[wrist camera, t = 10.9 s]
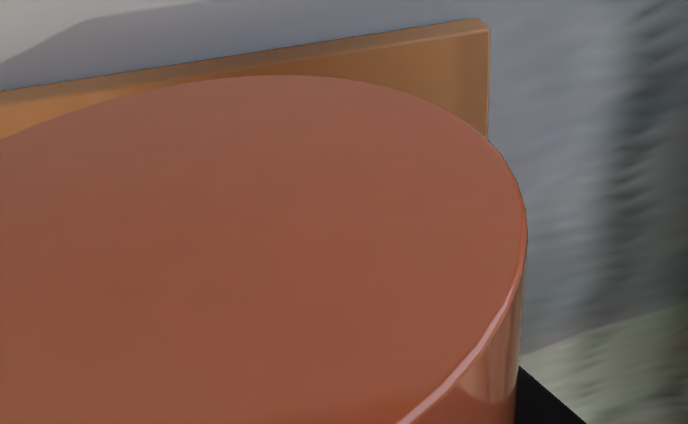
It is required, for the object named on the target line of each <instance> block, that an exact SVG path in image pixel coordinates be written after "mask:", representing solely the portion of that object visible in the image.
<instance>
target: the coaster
mask: <svg viewBox="0 0 688 424" xmlns="http://www.w3.org/2000/svg"><path fill="white" fill-rule="evenodd" d="M489 64H490V29H489V27H487V26H486V25H485V24H484V23H483V22H482V21H481V20H480V19H478V18H473V19H467V20H460V21H454V22H447V23H441V24H434V25H428V26H421V27H415V28H408V29H402V30H396V31H389V32H383V33H376V34H370V35H363V36H357V37H350V38H344V39H337V40H331V41H324V42H318V43H311V44H305V45H299V46H292V47H286V48H279V49H273V50H266V51H260V52H253V53H247V54H240V55H234V56H227V57H221V58H215V59H208V60H202V61H195V62H189V63H182V64H176V65H169V66H163V67H156V68H150V69H143V70H137V71H130V72H124V73H118V74H111V75H105V76H98V77H92V78H85V79H79V80H72V81H66V82H59V83H53V84H46V85H40V86H34V87H27V88H21V89H14V90H8V91H1V92H0V140H1V139H3V138H6V137H8V136H10V135H13V134H15V133H17V132H20V131H22V130H24V129H27V128H29V127H32V126H34V125H36V124H39V123H42V122H45V121H47V120H50V119H53V118H55V117H58V116H61V115H64V114H66V113H69V112H72V111H76V110H79V109H82V108H85V107H88V106H91V105H94V104H98V103H101V102H105V101H108V100H112V99H116V98H119V97H123V96H127V95H131V94H135V93H139V92H144V91H148V90H153V89H157V88H162V87H168V86H173V85H179V84H185V83H190V82H197V81H205V80H213V79H220V78H232V77H244V76H264V75H301V76H320V77H332V78H342V79H348V80H355V81H361V82H368V83H372V84H376V85H380V86H385V87H389V88H393V89H397V90H400V91H403V92H406V93H409V94H412V95H415V96H418V97H421V98H423V99H425V100H427V101H430V102H432V103H434V104H436V105H439V106H441V107H443V108H445V109H447V110H448V111H450V112H452V113H453V114H455V115H457V116H458V117H460V118H462V119H463V120H465V121H467V122H468V123H469V124H470V125H471V126H473V127H474V128H475V129H476V130H478V131H479V132H480V133H481V134H483V135H484V136H485V137H486V138H487V139H488V103H489Z"/></svg>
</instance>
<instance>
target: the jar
mask: <svg viewBox="0 0 688 424" xmlns="http://www.w3.org/2000/svg"><path fill="white" fill-rule="evenodd" d="M527 248H528V231H527V218H526V208H525V205H524V202H523V199H522V195H521V192H520V189H519V186H518V183H517V181H516V178H515V177H514V175H513V173H512V172H511V170H510V168H509V166H508V165H507V163H506V161H505V159H504V158H503V156H502V155H501V154H500V153H499V152H498V150H497V149H496V148H495V147H494V146H493V145H492V144H491V142H490V141H489V140H488V139H487V138H486V137H485V136H484V135H483V134H481V133H480V132H479V131H478V130H476V129H475V128H474V127H473V126H471V125H470V124H469V123H468V122H467V121H465V120H463V119H462V118H460V117H458V116H457V115H455V114H453V113H452V112H450V111H448V110H447V109H445V108H443V107H441V106H439V105H436V104H434V103H432V102H430V101H427V100H425V99H423V98H421V97H418V96H415V95H412V94H409V93H406V92H403V91H400V90H397V89H393V88H389V87H385V86H380V85H376V84H372V83H368V82H361V81H355V80H348V79H342V78H332V77H320V76H301V75H264V76H244V77H232V78H220V79H213V80H205V81H197V82H190V83H185V84H179V85H173V86H168V87H162V88H157V89H153V90H148V91H144V92H139V93H135V94H131V95H127V96H123V97H119V98H116V99H112V100H108V101H105V102H101V103H98V104H94V105H91V106H88V107H85V108H82V109H79V110H76V111H72V112H69V113H66V114H64V115H61V116H58V117H55V118H53V119H50V120H47V121H45V122H42V123H39V124H36V125H34V126H32V127H29V128H27V129H24V130H22V131H20V132H17V133H15V134H13V135H10V136H8V137H6V138H3V139H1V140H0V424H514V420H515V407H516V393H517V380H518V367H519V354H520V341H521V328H522V314H523V301H524V288H525V275H526V262H527Z"/></svg>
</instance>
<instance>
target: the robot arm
mask: <svg viewBox="0 0 688 424" xmlns="http://www.w3.org/2000/svg"><path fill="white" fill-rule="evenodd" d="M514 424H586V423H585V422H584V421H583V420H582V419H581V418H580V417H578V416H577V415H576V414H575V413H574V412H573V411H571V410H570V409H569V408H568V407H567V406H566V405H564V404H563V403H562V402H561V401H560V400H559V399H557V398H556V397H555V396H554V395H553V394H552V393H550V392H549V391H548V390H547V389H546V388H545V387H543V386H542V385H541V384H540V383H539V382H538V381H537V380H535V379H534V378H533V377H532V376H531V375H530V374H528V373H527V372H526V371H525V370H524V369H523V368H521V367H520V366H519V367H518V380H517V393H516V407H515V420H514Z"/></svg>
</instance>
